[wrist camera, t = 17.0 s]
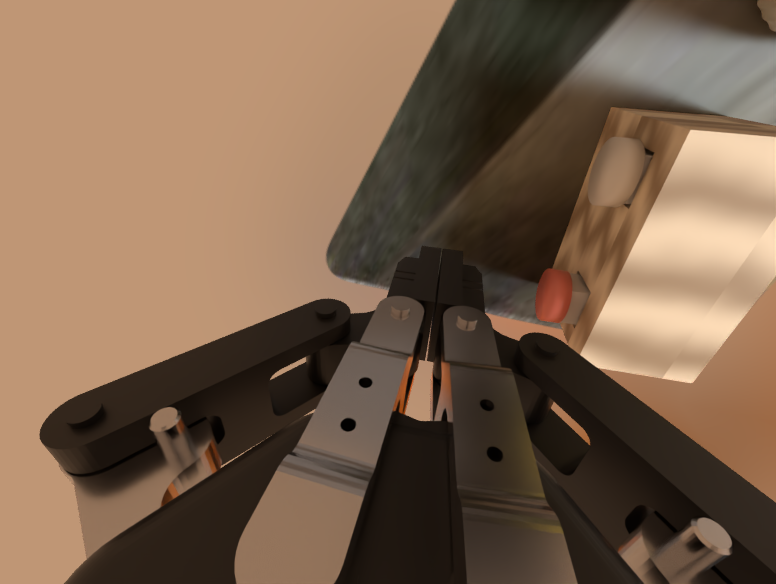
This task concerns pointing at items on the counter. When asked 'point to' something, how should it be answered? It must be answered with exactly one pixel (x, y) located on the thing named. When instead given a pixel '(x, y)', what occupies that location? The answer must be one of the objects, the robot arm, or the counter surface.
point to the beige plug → (618, 172)
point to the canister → (768, 12)
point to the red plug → (561, 296)
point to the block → (675, 244)
